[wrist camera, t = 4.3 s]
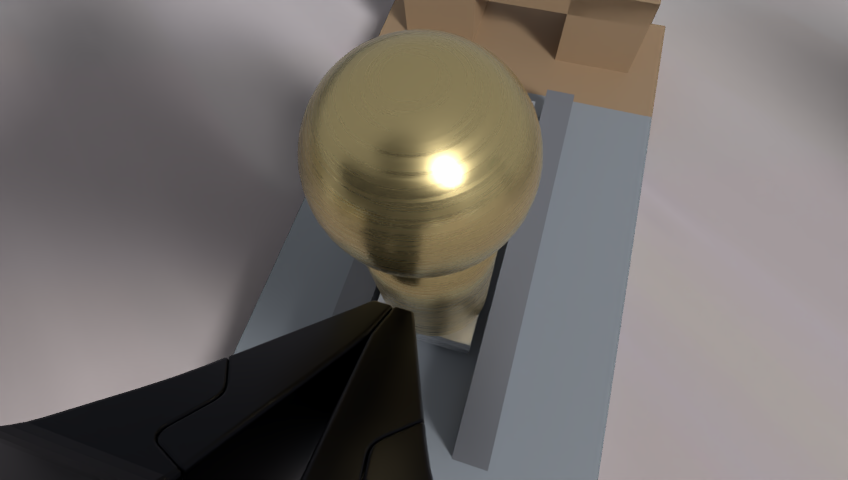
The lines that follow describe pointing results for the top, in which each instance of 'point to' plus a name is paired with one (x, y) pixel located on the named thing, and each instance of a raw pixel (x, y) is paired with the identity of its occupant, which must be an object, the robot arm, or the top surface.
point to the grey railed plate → (521, 246)
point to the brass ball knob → (422, 171)
